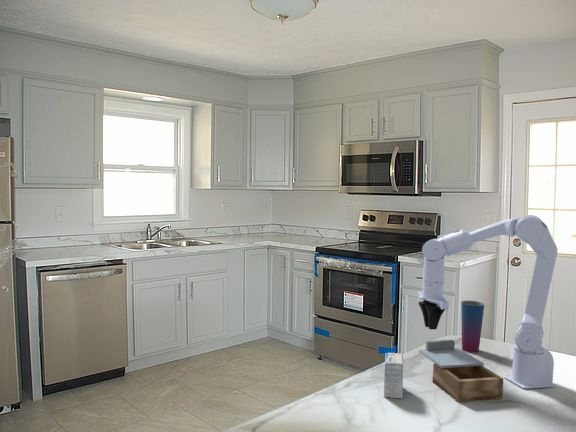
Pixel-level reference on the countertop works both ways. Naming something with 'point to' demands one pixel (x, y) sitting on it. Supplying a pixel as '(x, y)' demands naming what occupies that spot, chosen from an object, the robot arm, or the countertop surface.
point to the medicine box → (393, 375)
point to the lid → (448, 355)
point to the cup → (471, 324)
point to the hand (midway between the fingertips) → (430, 327)
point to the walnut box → (468, 383)
